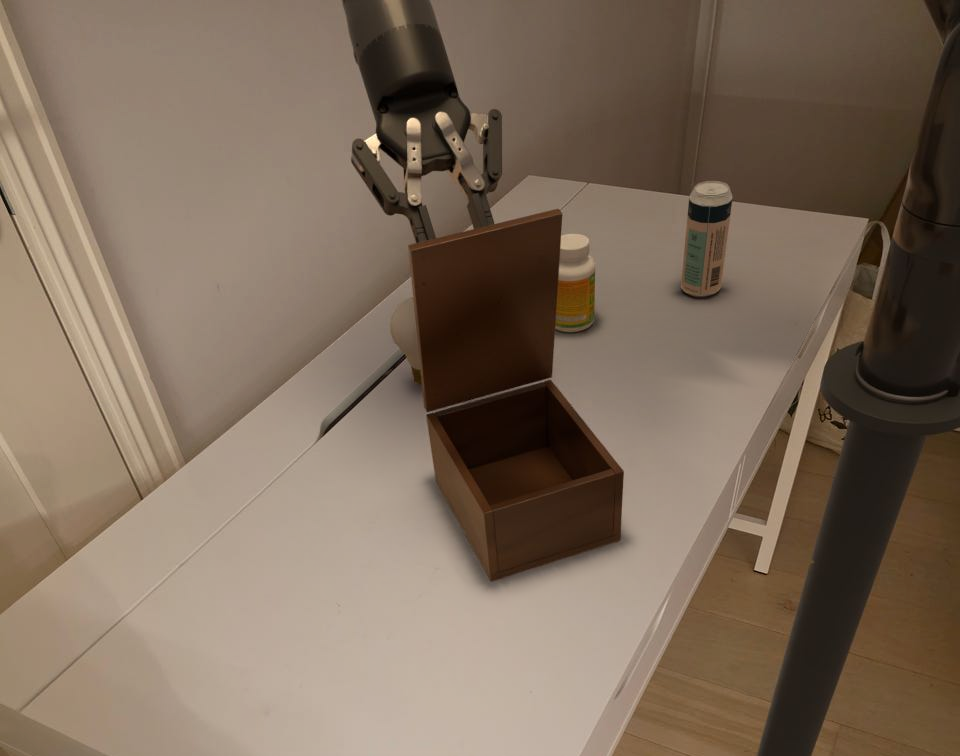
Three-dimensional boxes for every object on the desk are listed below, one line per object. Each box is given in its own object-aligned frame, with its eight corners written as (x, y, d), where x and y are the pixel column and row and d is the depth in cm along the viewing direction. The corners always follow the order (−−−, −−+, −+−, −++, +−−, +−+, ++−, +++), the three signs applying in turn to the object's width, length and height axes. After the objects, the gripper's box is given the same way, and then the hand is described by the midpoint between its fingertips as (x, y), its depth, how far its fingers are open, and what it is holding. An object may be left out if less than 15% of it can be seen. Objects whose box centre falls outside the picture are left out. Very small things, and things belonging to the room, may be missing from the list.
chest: (620, 540, 79) (624, 471, 73) (490, 581, 77) (483, 513, 71) (552, 446, 89) (550, 379, 83) (435, 480, 87) (425, 414, 81)
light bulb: (404, 370, 101) (391, 287, 94) (455, 369, 100) (445, 285, 93) (396, 399, 97) (381, 315, 90) (448, 399, 96) (438, 313, 89)
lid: (562, 213, 69) (558, 208, 69) (411, 250, 67) (407, 244, 67) (552, 377, 83) (549, 372, 83) (426, 412, 81) (423, 407, 81)
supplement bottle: (597, 331, 103) (599, 249, 96) (552, 336, 103) (550, 254, 96) (590, 308, 107) (591, 228, 100) (546, 313, 107) (544, 233, 100)
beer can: (721, 281, 109) (734, 179, 100) (719, 300, 106) (732, 197, 97) (682, 279, 110) (691, 179, 101) (678, 298, 107) (688, 196, 98)
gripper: (319, 37, 70) (385, 248, 71) (485, 4, 73) (546, 209, 74) (318, 93, 77) (378, 283, 79) (469, 61, 80) (525, 246, 81)
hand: (459, 246), depth 76 cm, fingers open, 4 cm apart
